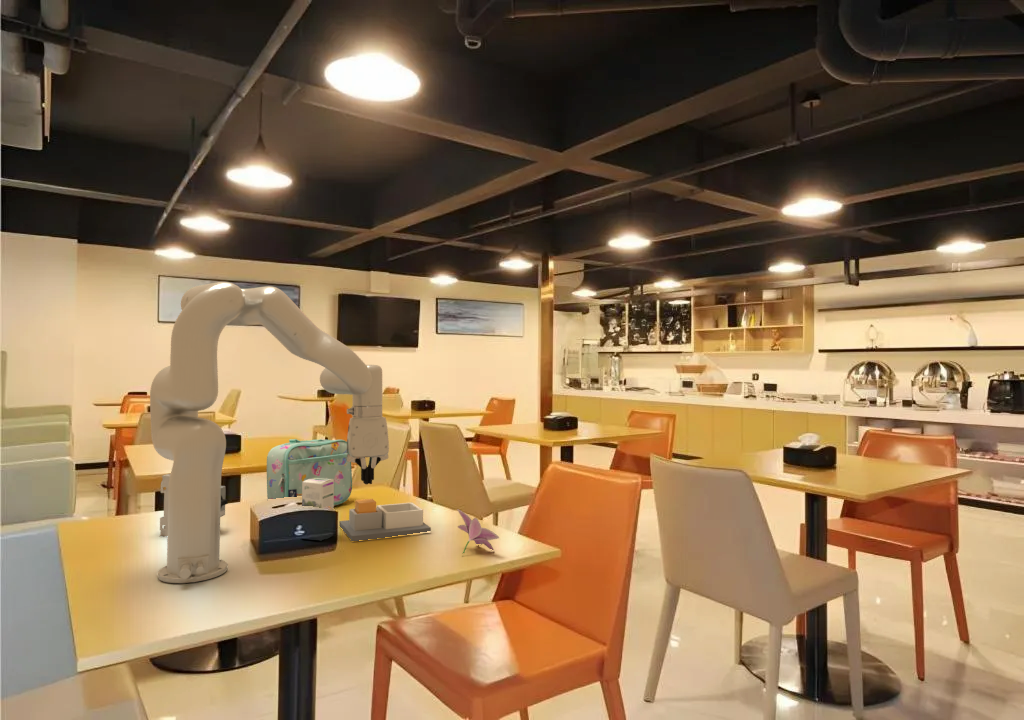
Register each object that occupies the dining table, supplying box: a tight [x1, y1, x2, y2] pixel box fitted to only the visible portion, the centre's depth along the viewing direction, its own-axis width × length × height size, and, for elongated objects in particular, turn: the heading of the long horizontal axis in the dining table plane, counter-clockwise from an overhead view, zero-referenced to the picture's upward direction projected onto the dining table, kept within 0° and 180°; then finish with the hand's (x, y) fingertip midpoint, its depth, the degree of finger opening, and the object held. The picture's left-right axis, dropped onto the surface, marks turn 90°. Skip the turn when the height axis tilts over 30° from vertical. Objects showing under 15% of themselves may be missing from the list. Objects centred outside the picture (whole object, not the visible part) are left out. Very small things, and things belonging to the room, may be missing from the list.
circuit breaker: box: [159, 473, 229, 537], centre depth 156 cm, size 8×14×15 cm, turn 89°
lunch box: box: [266, 438, 353, 507], centre depth 184 cm, size 27×10×21 cm, turn 150°
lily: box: [456, 508, 500, 554], centre depth 142 cm, size 12×12×10 cm
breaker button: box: [354, 498, 377, 514], centre depth 159 cm, size 4×4×4 cm
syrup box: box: [302, 478, 335, 510], centre depth 153 cm, size 6×6×14 cm
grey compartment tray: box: [338, 502, 432, 542], centre depth 161 cm, size 16×20×6 cm
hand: (367, 483), depth 159 cm, fingers closed
